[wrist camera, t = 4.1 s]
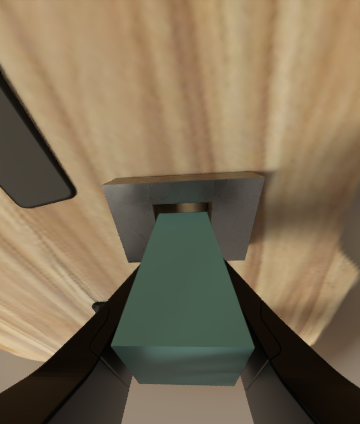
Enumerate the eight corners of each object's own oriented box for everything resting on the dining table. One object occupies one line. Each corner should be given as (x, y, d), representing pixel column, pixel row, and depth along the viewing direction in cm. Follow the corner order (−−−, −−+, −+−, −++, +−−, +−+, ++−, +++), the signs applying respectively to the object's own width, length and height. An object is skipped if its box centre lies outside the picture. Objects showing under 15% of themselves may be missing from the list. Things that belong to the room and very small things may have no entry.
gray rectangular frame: (236, 244, 16) (244, 260, 14) (135, 247, 17) (128, 262, 15) (250, 171, 12) (265, 176, 10) (116, 178, 13) (101, 185, 10)
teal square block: (205, 248, 12) (234, 385, 5) (164, 249, 13) (139, 383, 5) (206, 211, 11) (254, 347, 3) (158, 213, 11) (110, 346, 4)
